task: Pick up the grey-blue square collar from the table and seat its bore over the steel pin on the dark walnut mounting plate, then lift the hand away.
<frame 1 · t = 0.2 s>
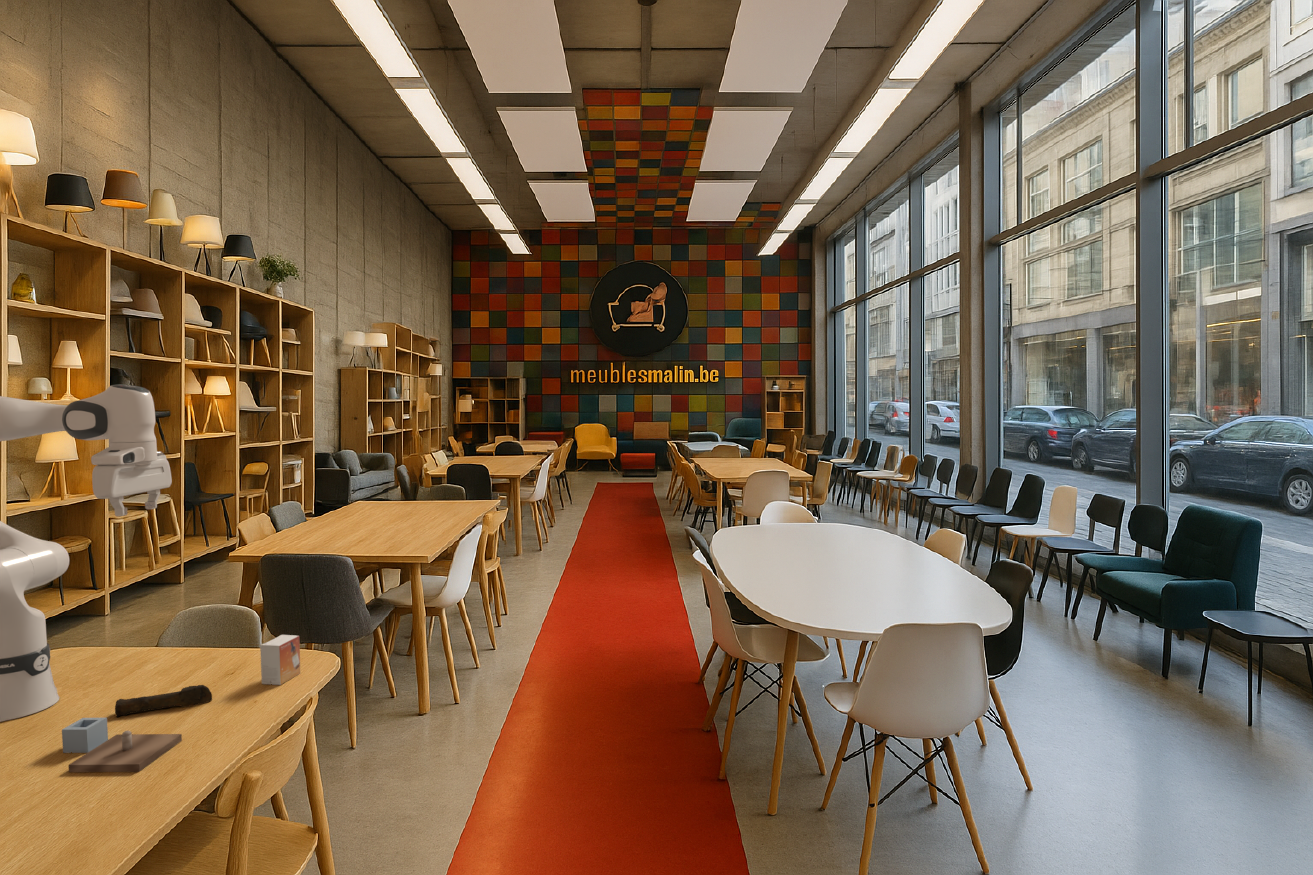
hand: (136, 512, 158), 47 cm above the table, tool pointing down, fingers open, 8 cm apart
small box: (281, 679, 177), on the table
collar: (86, 746, 143), on the table
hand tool: (166, 709, 161), on the table
mounting plate: (127, 755, 139), on the table
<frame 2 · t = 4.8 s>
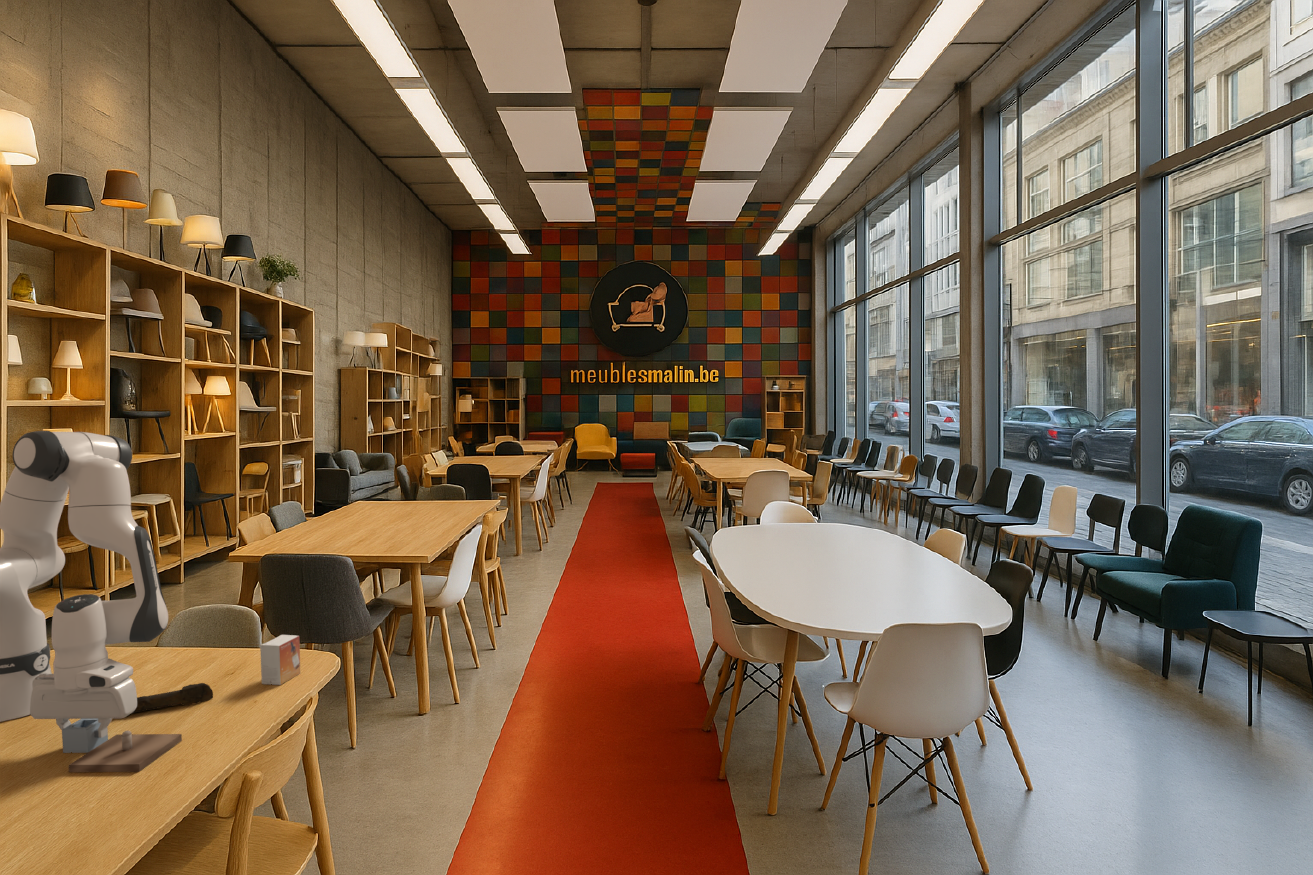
hand: (85, 736, 143), 2 cm above the table, tool pointing down, fingers closed on collar, 5 cm apart
collar: (86, 746, 143), on the table, touching gripper
when the fingers open (6 cm above the table, at t = 12.3 s): collar drops 2 cm, resting on mounting plate.
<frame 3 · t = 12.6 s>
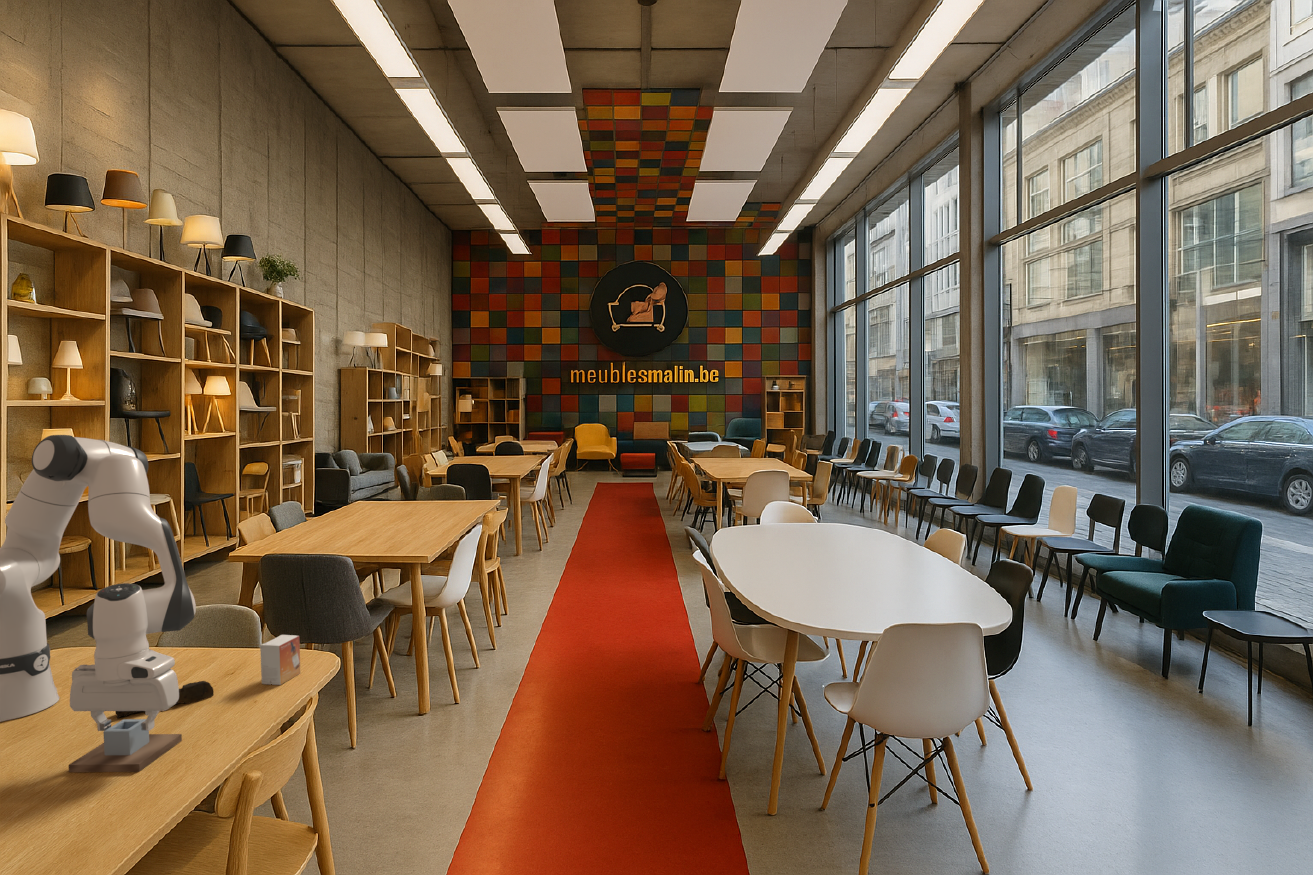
hand: (126, 729, 139), 6 cm above the table, tool pointing down, fingers open, 8 cm apart
collar: (127, 748, 139), point 1 cm above the table, touching mounting plate
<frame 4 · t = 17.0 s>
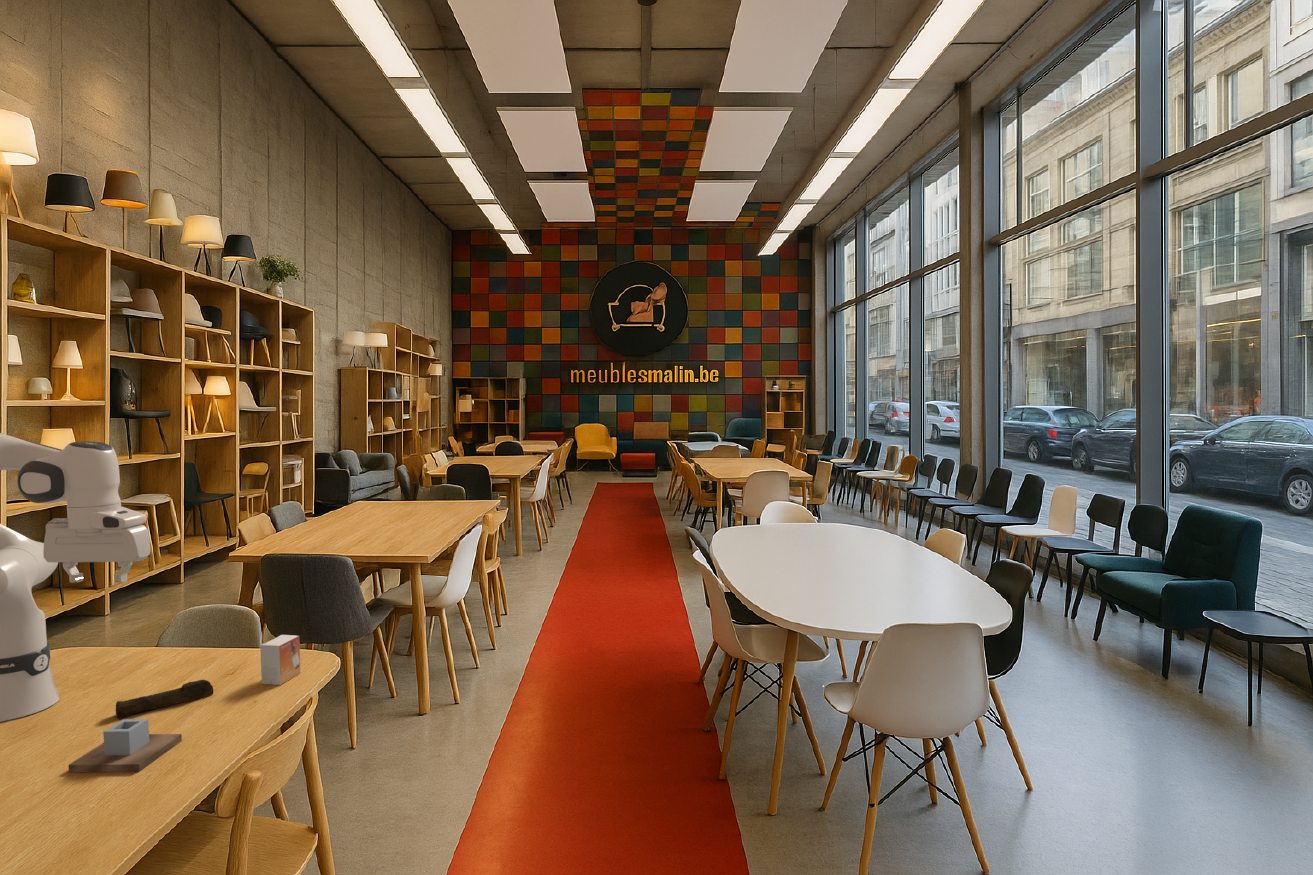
hand: (98, 581, 143), 35 cm above the table, tool pointing down, fingers open, 8 cm apart
at the end: collar 0.1 cm off-centre on the mounting plate, point 1.5 cm above the mounting plate's base; collar tilted 0°; the gripper is holding nothing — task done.
